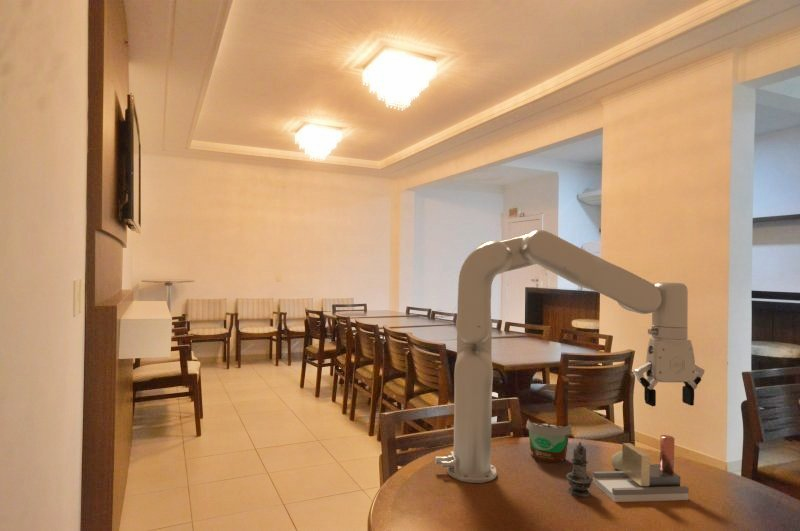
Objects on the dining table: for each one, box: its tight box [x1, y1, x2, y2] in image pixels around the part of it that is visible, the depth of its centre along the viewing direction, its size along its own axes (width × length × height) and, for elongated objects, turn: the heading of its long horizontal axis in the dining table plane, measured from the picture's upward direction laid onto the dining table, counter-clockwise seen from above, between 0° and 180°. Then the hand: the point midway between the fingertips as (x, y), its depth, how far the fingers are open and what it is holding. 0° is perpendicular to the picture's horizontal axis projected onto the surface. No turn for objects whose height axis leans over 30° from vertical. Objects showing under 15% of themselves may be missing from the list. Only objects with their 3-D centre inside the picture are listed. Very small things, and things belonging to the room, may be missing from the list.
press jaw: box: [621, 434, 681, 487], centre depth 117 cm, size 10×8×11 cm
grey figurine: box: [565, 441, 593, 499], centre depth 115 cm, size 6×6×12 cm
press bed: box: [592, 470, 690, 503], centre depth 116 cm, size 18×10×3 cm, turn 96°
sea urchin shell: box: [611, 449, 622, 471], centre depth 129 cm, size 9×8×8 cm
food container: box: [525, 418, 573, 465], centre depth 134 cm, size 12×6×10 cm, turn 68°
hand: (669, 404), depth 117 cm, fingers open, 9 cm apart
